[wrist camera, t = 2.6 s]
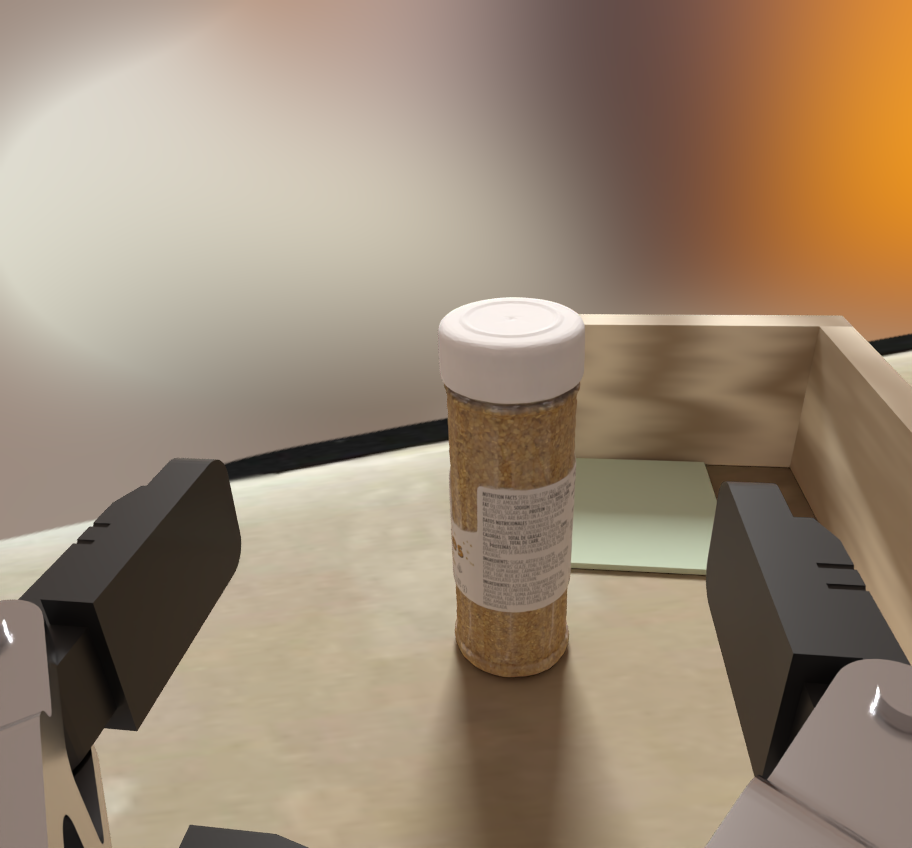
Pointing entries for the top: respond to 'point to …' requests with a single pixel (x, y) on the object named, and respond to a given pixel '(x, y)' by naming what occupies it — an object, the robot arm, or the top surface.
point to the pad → (642, 516)
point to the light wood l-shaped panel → (766, 421)
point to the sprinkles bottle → (512, 476)
